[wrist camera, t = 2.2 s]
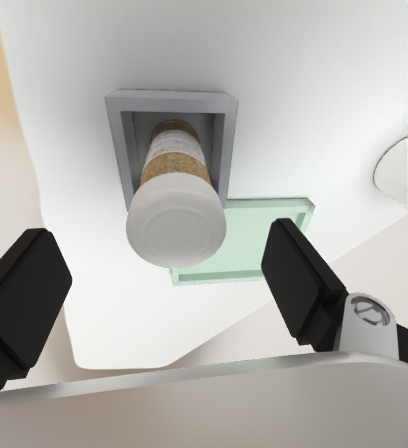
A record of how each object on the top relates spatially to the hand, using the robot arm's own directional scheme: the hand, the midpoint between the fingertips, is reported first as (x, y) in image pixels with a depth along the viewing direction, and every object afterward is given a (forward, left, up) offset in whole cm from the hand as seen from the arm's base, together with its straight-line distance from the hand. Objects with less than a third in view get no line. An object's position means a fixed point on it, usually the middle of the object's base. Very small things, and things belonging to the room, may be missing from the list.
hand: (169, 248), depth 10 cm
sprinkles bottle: (-1, 0, -14) cm, 14 cm away
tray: (+11, +7, -14) cm, 19 cm away
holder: (-1, 0, -14) cm, 14 cm away
